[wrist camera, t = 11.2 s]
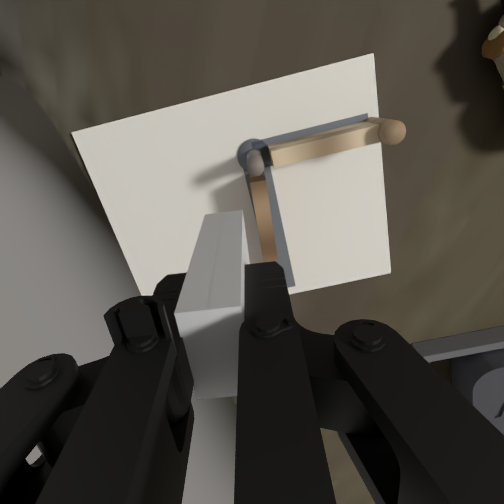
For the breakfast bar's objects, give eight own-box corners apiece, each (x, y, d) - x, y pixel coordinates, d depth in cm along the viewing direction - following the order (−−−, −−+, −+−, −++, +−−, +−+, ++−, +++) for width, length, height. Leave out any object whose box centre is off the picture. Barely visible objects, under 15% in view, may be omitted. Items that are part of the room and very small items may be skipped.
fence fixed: (249, 166, 34) (249, 180, 28) (244, 147, 33) (244, 158, 27) (379, 134, 33) (408, 142, 27) (378, 114, 32) (407, 118, 26)
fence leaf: (247, 173, 33) (247, 186, 29) (265, 170, 33) (269, 182, 29) (267, 288, 39) (270, 315, 34) (283, 286, 39) (288, 312, 34)
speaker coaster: (411, 343, 43) (421, 357, 41) (596, 307, 41) (617, 320, 39) (418, 456, 52) (426, 473, 50) (570, 431, 50) (586, 447, 48)
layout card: (73, 132, 32) (70, 132, 32) (372, 53, 30) (374, 52, 30) (154, 321, 41) (153, 323, 41) (389, 271, 39) (391, 273, 38)
